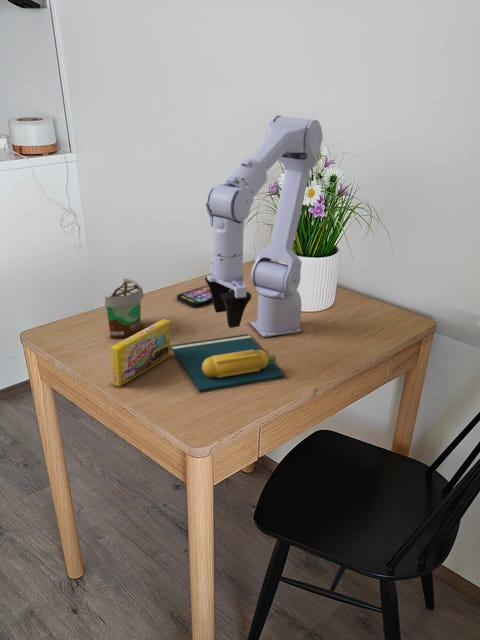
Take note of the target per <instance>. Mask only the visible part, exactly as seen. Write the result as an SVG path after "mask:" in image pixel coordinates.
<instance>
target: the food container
mask: <svg viewBox="0 0 480 640" xmlns="http://www.w3.org/2000/svg"><path fill="white" fill-rule="evenodd" d="M143 298H144V291H143V287H142V286H141V284H140V283H139V282H138V281H136V280H133V279H130V278H123V283H122V284H121V285H120V286H119V287H117V288H116V289H114V290H113V292H112V293H111V295H110V296H104V307H105V308H106V313H107V321H108V328H109V334H110V338H111V339H127V338H129V337H130V336H132V335H134V334H136V333H138V332H140V331H141V312H142V311H141V307H142V306H141V305H142V304H141V303H142V300H143Z"/></svg>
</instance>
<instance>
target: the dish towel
mask: <svg viewBox="0 0 480 640" xmlns="http://www.w3.org/2000/svg"><path fill="white" fill-rule="evenodd" d="M170 350H171V351H172V353H173V354H174V356H175V357H176V359H177V360H178V361H179V363H180V364H181V366H182V368H183V369H184V371H185V372H186V374H187V375H188V377H189V378H190V380H191V381H192V383H193V384H194V386H195V387H196V389H197V390H198V392H199V393H202V392H206V391H213V390H219V389H225V388H232V387H237V386H242V385H249V384H255V383H260V382H265V381H266V382H267V381H271V380H277V379H283V378H285V377H286V374H285V373H284V372H283V371H282V370H281V368H279V367H278V366H277V365H276V364H275V362H274V361H273V362H268V364H267V366H266V367H265V368H263V369H261V370H260V371H255V372H249V373H243V374H237V375H231V376H225V377H219V378H217V377H208V376H206V375H205V374H204V373H203V371H202V363H203V361H204V360H205V359H207V358H209V357H211V356H214V355H221V354H227V353H234V352H240V351H247V350H263V349H262V348H261V347H260V346H259V345H258V344H257V342H255V341H254V339H253V338H252V336H250V335H249V334H248V333H246V334H239V335H233V336H225V337H218V338H212V339H205V340H199V341H191V342H184V343H178V344H170Z"/></svg>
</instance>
